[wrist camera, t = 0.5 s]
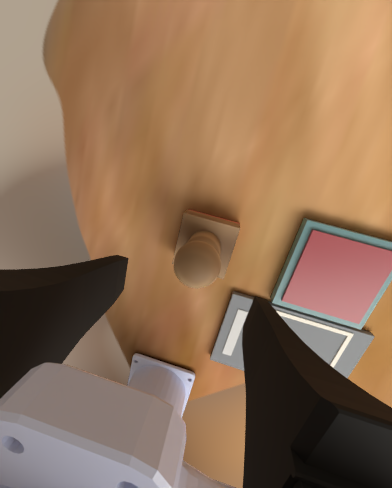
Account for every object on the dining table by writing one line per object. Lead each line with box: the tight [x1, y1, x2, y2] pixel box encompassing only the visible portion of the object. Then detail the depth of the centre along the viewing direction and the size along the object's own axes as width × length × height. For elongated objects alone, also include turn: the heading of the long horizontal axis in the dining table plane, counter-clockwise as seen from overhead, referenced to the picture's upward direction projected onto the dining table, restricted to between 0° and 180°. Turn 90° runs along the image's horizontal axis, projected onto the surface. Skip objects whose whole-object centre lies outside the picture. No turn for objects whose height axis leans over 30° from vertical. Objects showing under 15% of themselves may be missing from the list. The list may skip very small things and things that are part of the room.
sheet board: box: [210, 291, 375, 378], centre depth 23 cm, size 9×14×1 cm, turn 76°
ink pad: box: [270, 218, 392, 330], centre depth 20 cm, size 8×8×1 cm
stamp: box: [172, 209, 240, 288], centre depth 18 cm, size 5×5×8 cm
